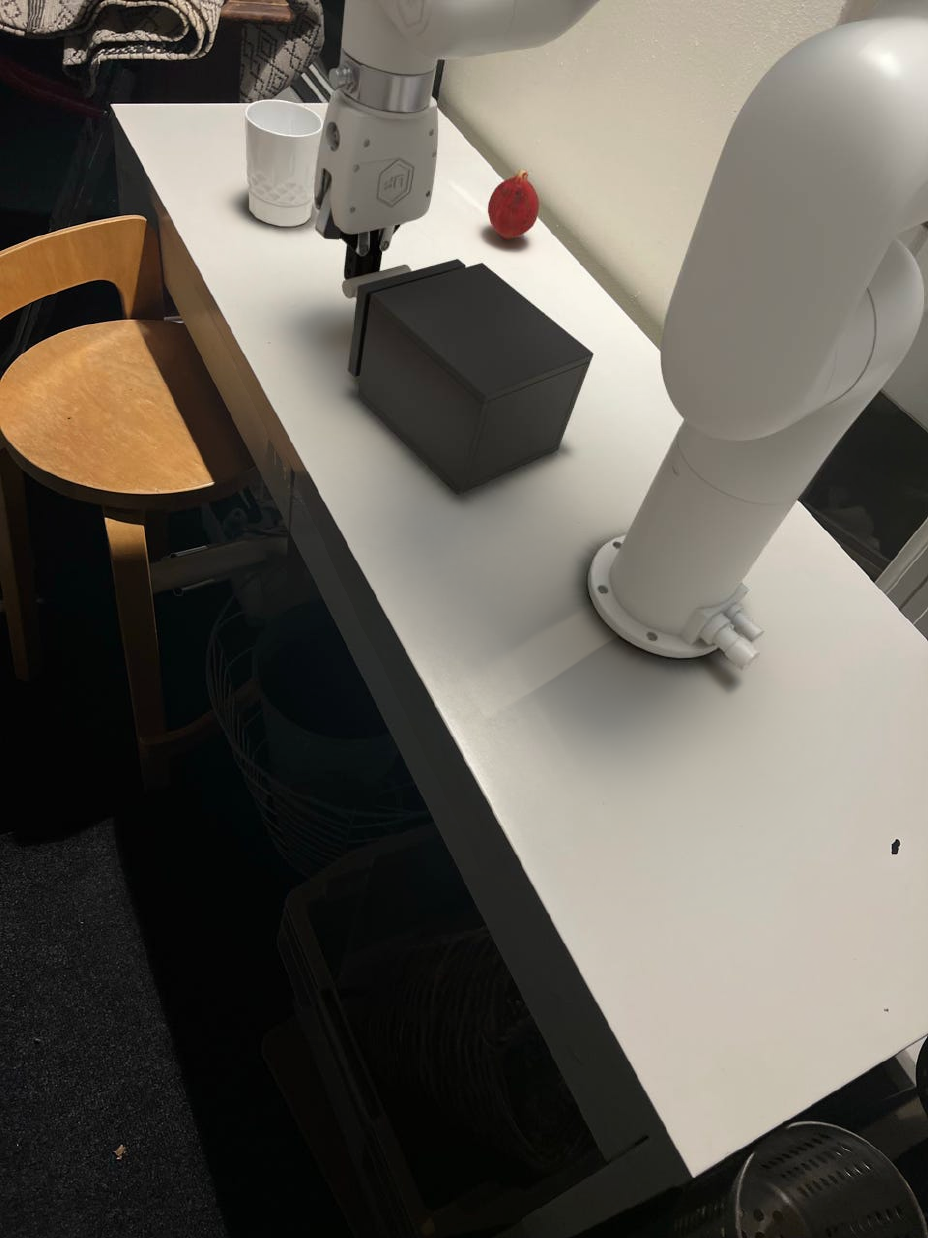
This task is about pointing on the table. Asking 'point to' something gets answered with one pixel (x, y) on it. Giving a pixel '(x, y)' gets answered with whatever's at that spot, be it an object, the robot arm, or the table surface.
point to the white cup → (281, 160)
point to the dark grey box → (469, 374)
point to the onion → (513, 206)
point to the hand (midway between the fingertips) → (360, 284)
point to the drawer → (375, 283)
